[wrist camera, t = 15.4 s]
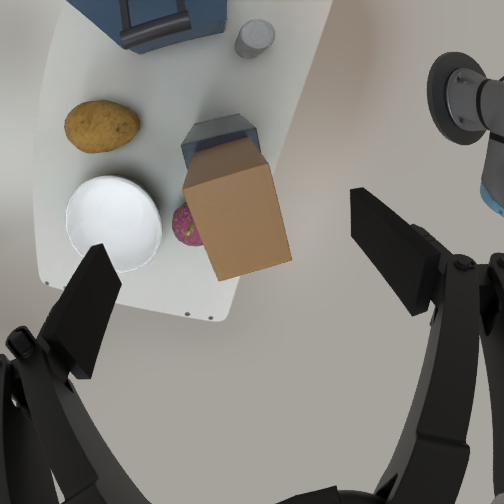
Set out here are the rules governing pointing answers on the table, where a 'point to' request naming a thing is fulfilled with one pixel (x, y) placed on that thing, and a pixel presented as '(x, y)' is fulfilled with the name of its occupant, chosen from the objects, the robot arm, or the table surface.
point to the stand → (217, 134)
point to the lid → (149, 17)
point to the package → (236, 209)
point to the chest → (180, 37)
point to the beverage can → (254, 38)
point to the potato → (100, 126)
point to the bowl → (115, 220)
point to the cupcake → (185, 227)
